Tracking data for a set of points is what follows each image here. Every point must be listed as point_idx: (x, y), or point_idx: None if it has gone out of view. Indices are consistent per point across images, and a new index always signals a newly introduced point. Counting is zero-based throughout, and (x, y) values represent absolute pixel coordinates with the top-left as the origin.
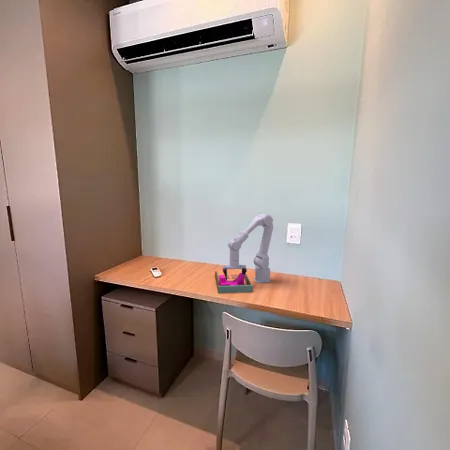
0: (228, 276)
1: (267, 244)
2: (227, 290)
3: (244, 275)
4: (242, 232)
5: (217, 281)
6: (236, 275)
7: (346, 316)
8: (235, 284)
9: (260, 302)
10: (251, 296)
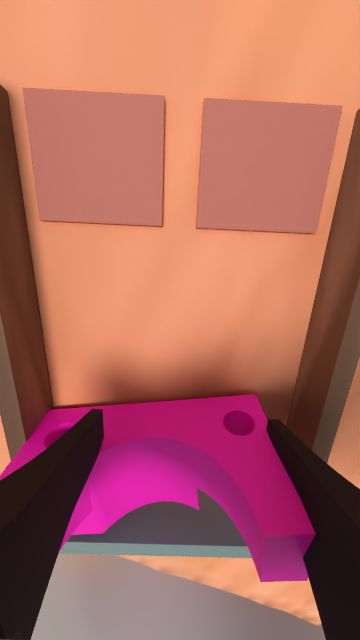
0: (159, 166)
1: None
2: None
3: (355, 253)
4: None
5: (8, 419)
6: (268, 140)
7: None
8: (177, 494)
9: (277, 587)
10: None
